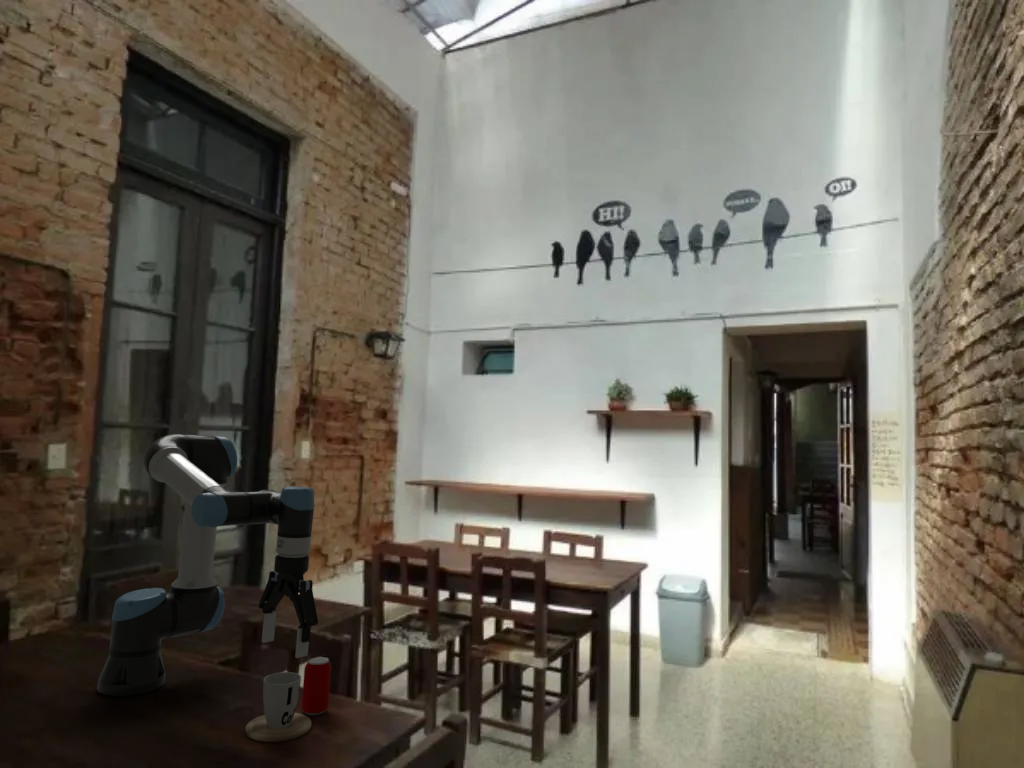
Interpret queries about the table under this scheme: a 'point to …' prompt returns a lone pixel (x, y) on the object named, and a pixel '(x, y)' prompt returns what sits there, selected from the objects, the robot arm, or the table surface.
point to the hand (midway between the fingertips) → (284, 648)
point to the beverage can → (316, 686)
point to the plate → (263, 733)
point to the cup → (280, 698)
